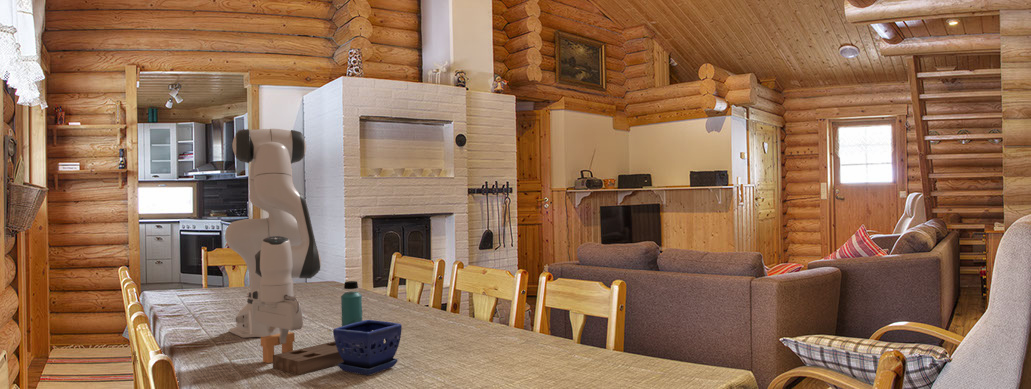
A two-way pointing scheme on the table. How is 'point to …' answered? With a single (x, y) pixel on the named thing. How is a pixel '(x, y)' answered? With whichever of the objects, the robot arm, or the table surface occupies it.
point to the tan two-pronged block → (272, 341)
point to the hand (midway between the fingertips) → (277, 342)
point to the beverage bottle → (351, 304)
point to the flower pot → (367, 346)
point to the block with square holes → (308, 359)
